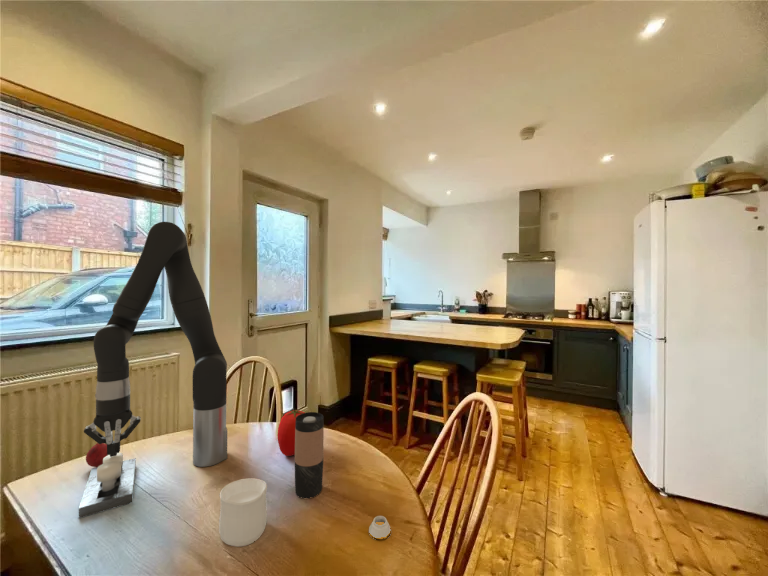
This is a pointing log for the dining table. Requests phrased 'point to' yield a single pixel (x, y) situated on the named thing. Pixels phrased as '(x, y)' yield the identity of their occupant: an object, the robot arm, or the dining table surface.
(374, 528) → the lidless jar
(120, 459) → the knob far
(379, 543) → the dining table surface
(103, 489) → the knob near
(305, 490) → the travel mug
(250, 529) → the cup
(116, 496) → the mount panel
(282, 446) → the tomato
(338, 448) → the dining table surface
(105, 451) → the onion
